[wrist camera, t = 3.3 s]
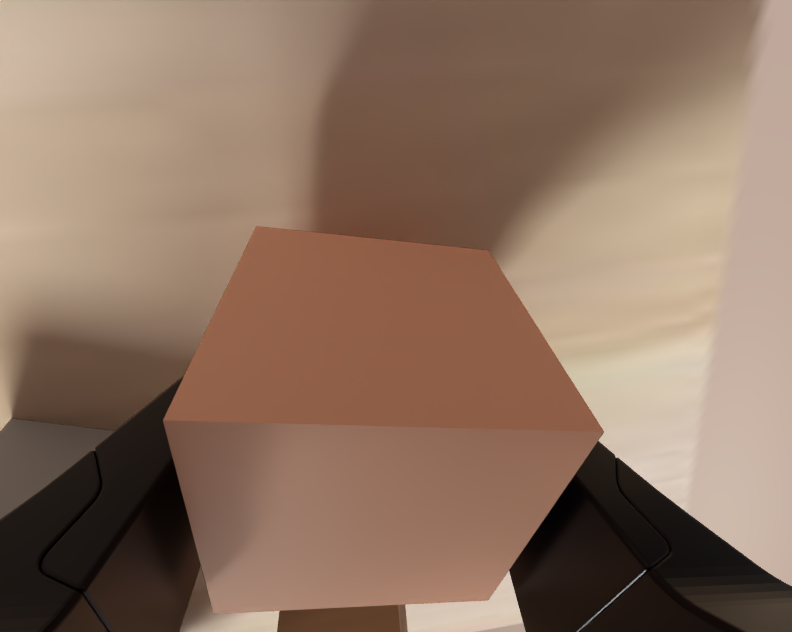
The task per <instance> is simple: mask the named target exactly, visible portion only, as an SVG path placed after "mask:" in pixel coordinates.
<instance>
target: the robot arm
mask: <svg viewBox="0 0 792 632" xmlns="http://www.w3.org/2000/svg"><path fill="white" fill-rule="evenodd" d="M183 378H184V376H182V377H181V378H180V379H179V380H177V381H176V382H175V383H174V384H172V385H171V386H170V387H169V388H168V389H166V390H165V391H164V392H163V393H161V394H160V395H159V396H158V397H156V398H155V399H154V400H153V401H151V402H150V403H149V404H148V405H146V406H145V407H144V408H143V409H141V410H140V411H139V412H138V413H137V414H135V415H134V416H133V417H132V418H130V419H129V420H128V421H127V422H125V423H124V424H123V425H122V426H120V427H119V428H118V429H117V430H115V431H114V432H113V433H112V434H110V435H109V436H108V437H107V438H105V439H104V440H103V441H102V442H101V443H99V444H98V445H97V446H96V447H95V448H94V450H95V451H93V450H91V451H89V452H88V453H87V454H85V455H84V456H83V457H82V458H80V459H79V460H78V461H77V462H75V463H74V464H73V465H72V466H70V467H69V468H68V469H67V470H65V471H64V472H63V473H61V474H60V475H59V476H58V477H56V478H55V479H54V480H52V481H51V482H50V483H48V484H47V485H46V486H45V487H43V488H42V489H41V490H39V491H38V492H37V493H35V494H34V495H33V496H31V497H30V498H28V499H27V500H26V501H24V502H23V503H21V504H20V505H19V506H17V507H16V508H14V509H13V510H12V511H10V512H9V513H7V514H6V515H5V516H3V517H2V518H1V519H0V632H179V631H180V628H181V625H182V622H183V619H184V616H185V613H186V609H187V606H188V603H189V600H190V597H191V594H192V591H193V588H194V585H195V581H196V578H197V575H198V572H199V569H200V566H201V564H200V560H199V556H198V552H197V548H196V545H195V541H194V537H193V533H192V529H191V526H190V522H189V518H188V514H187V510H186V507H185V503H184V499H183V495H182V491H181V488H180V484H179V480H178V476H177V472H176V469H175V465H174V461H173V457H172V453H171V449H170V446H169V442H168V438H167V434H166V430H165V427H164V423H163V419H164V417H165V415H166V413H167V411H168V409H169V407H170V405H171V403H172V400H173V398H174V396H175V394H176V392H177V390H178V388H179V386H180V384H181V382H182V380H183ZM509 571H510V575H511V579H512V583H513V586H514V590H515V594H516V597H517V601H518V605H519V608H520V612H521V616H522V620H523V623H524V627H525V631H526V632H792V586H790V585H788V584H786V583H784V582H782V581H781V580H779V579H777V578H776V577H774V576H772V575H771V574H769V573H768V572H766V571H765V570H763V569H762V568H761V567H759V566H758V565H756V564H755V563H754V562H752V561H751V560H750V559H748V558H747V557H746V556H744V555H743V554H742V553H740V552H739V551H738V550H736V549H735V548H734V547H732V546H731V545H730V544H728V543H727V542H726V541H724V540H723V539H721V538H720V537H719V536H717V535H716V534H715V533H713V532H712V531H711V530H709V529H708V528H707V527H705V526H704V525H703V524H701V523H700V522H699V521H697V520H696V519H695V518H693V517H692V516H691V515H689V514H688V513H687V512H685V511H684V510H683V509H681V508H680V507H679V506H677V505H676V504H675V503H674V502H672V501H671V500H670V499H668V498H667V497H666V496H664V495H663V494H662V493H660V492H659V491H658V490H657V489H655V488H654V487H653V486H652V485H651V484H649V483H648V482H647V481H646V480H644V479H643V478H642V477H641V476H639V475H638V474H637V473H636V472H635V471H633V470H632V469H631V468H630V467H629V466H627V465H626V464H625V463H624V462H623V461H622V460H620V459H619V458H615V455H614V454H613V453H612V452H611V451H610V450H608V449H607V448H606V447H605V446H604V445H602V444H601V443H600V442H599V441H598V442H597V443H596V445H595V446H594V447H593V449H592V450H591V452H590V453H589V455H588V456H587V458H586V459H585V460H584V462H583V463H582V465H581V466H580V468H579V469H578V471H577V472H576V474H575V475H574V476H573V478H572V479H571V481H570V482H569V484H568V485H567V487H566V488H565V490H564V491H563V492H562V494H561V495H560V497H559V498H558V500H557V501H556V503H555V504H554V506H553V507H552V508H551V510H550V511H549V513H548V514H547V516H546V517H545V519H544V520H543V522H542V523H541V524H540V526H539V527H538V529H537V530H536V532H535V533H534V535H533V536H532V537H531V539H530V540H529V542H528V543H527V545H526V546H525V548H524V549H523V551H522V552H521V553H520V555H519V556H518V558H517V559H516V561H515V562H514V564H513V565H512V567H511V568H510V569H509Z"/></svg>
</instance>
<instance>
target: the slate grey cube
mask: <svg viewBox="0 0 792 632" xmlns="http://www.w3.org/2000/svg"><path fill="white" fill-rule="evenodd" d="M113 432H114V431H111V430H103V429H94V428H86V427H78V426H70V425H61V424H53V423H45V422H37V421H28V420H20V419H11V420H10V421H9V422H8V423H7V424H6V426H5V427H4V428H3V429H2V430H1V431H0V519H1V518H2V517H3V516H5V515H6V514H7V513H9V512H10V511H12V510H13V509H14V508H16V507H17V506H19V505H20V504H21V503H23V502H24V501H26V500H27V499H28V498H30V497H31V496H33V495H34V494H35V493H37V492H38V491H39V490H41V489H42V488H43V487H45V486H46V485H47V484H48V483H50V482H51V481H52V480H54V479H55V478H56V477H58V476H59V475H60V474H61V473H63V472H64V471H65V470H67V469H68V468H69V467H70V466H72V465H73V464H74V463H75V462H77V461H78V460H79V459H80V458H82V457H83V456H84V455H85V454H87V453H88V452H89V451H91V450H93V451H95V450H94V448H95V447H96V446H97V445H98V444H99V443H101V442H102V441H103V440H104V439H105V438H107V437H108V436H109V435H110V434H112V433H113Z"/></svg>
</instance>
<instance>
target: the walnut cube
mask: <svg viewBox="0 0 792 632" xmlns="http://www.w3.org/2000/svg"><path fill="white" fill-rule="evenodd" d="M277 632H408V631H407V620H406V610H405V604H404V605H383V606H363V607H343V608H323V609H303V610H282V611H280V612H279V621H278V629H277Z"/></svg>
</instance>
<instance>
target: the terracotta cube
mask: <svg viewBox="0 0 792 632" xmlns="http://www.w3.org/2000/svg"><path fill="white" fill-rule="evenodd" d="M163 423H164V427H165V430H166V434H167V438H168V442H169V446H170V449H171V453H172V457H173V461H174V465H175V469H176V472H177V476H178V480H179V484H180V488H181V491H182V495H183V499H184V503H185V507H186V510H187V514H188V518H189V522H190V526H191V529H192V533H193V537H194V541H195V545H196V548H197V552H198V556H199V560H200V564H201V568H202V571H203V575H204V579H205V583H206V587H207V590H208V594H209V598H210V602H211V606H212V609H213V613H214V614H222V613H242V612H262V611H282V610H303V609H323V608H343V607H363V606H383V605H404V604H424V603H444V602H464V601H484V600H489V599H490V597H491V596H492V594H493V593H494V591H495V590H496V588H497V587H498V585H499V584H500V583H501V581H502V580H503V578H504V577H505V575H506V574H507V572H508V571H509V569H510V568H511V567H512V565H513V564H514V562H515V561H516V559H517V558H518V556H519V555H520V553H521V552H522V551H523V549H524V548H525V546H526V545H527V543H528V542H529V540H530V539H531V537H532V536H533V535H534V533H535V532H536V530H537V529H538V527H539V526H540V524H541V523H542V522H543V520H544V519H545V517H546V516H547V514H548V513H549V511H550V510H551V508H552V507H553V506H554V504H555V503H556V501H557V500H558V498H559V497H560V495H561V494H562V492H563V491H564V490H565V488H566V487H567V485H568V484H569V482H570V481H571V479H572V478H573V476H574V475H575V474H576V472H577V471H578V469H579V468H580V466H581V465H582V463H583V462H584V460H585V459H586V458H587V456H588V455H589V453H590V452H591V450H592V449H593V447H594V446H595V445H596V443H597V442H598V440H599V439H600V437H601V436H602V434H603V433H604V431H603V429H602V428H601V426H600V425H599V423H598V421H597V420H596V418H595V417H594V415H593V414H592V412H591V410H590V409H589V407H588V406H587V404H586V403H585V401H584V399H583V398H582V396H581V395H580V393H579V392H578V390H577V388H576V387H575V385H574V384H573V382H572V381H571V379H570V378H569V376H568V374H567V373H566V371H565V370H564V368H563V367H562V365H561V363H560V362H559V360H558V359H557V357H556V356H555V354H554V352H553V351H552V349H551V348H550V346H549V345H548V343H547V341H546V340H545V338H544V337H543V335H542V334H541V332H540V330H539V329H538V327H537V326H536V324H535V323H534V321H533V319H532V318H531V316H530V315H529V313H528V312H527V310H526V308H525V307H524V305H523V304H522V302H521V301H520V299H519V297H518V296H517V294H516V293H515V291H514V290H513V288H512V286H511V285H510V283H509V282H508V280H507V279H506V277H505V275H504V274H503V272H502V271H501V269H500V268H499V266H498V265H497V263H496V261H495V260H494V258H493V257H492V255H491V254H490V252H489V250H479V249H470V248H460V247H450V246H441V245H431V244H422V243H412V242H403V241H393V240H383V239H374V238H364V237H355V236H345V235H336V234H326V233H317V232H307V231H297V230H288V229H278V228H269V227H259V226H256V228H255V230H254V232H253V234H252V236H251V238H250V240H249V242H248V244H247V247H246V249H245V251H244V253H243V255H242V257H241V259H240V261H239V263H238V265H237V267H236V269H235V272H234V274H233V276H232V278H231V280H230V282H229V284H228V286H227V288H226V290H225V292H224V294H223V296H222V299H221V301H220V303H219V305H218V307H217V309H216V311H215V313H214V315H213V317H212V319H211V321H210V323H209V326H208V328H207V330H206V332H205V334H204V336H203V338H202V340H201V342H200V344H199V346H198V348H197V351H196V353H195V355H194V357H193V359H192V361H191V363H190V365H189V367H188V369H187V371H186V373H185V375H184V378H183V380H182V382H181V384H180V386H179V388H178V390H177V392H176V394H175V396H174V398H173V400H172V403H171V405H170V407H169V409H168V411H167V413H166V415H165V417H164V419H163Z"/></svg>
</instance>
